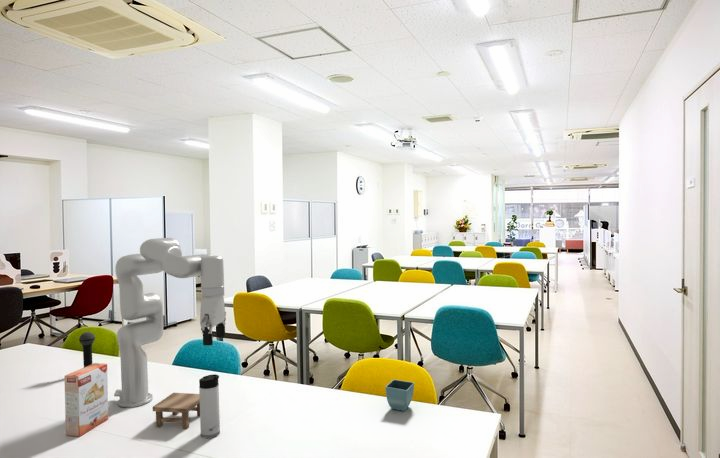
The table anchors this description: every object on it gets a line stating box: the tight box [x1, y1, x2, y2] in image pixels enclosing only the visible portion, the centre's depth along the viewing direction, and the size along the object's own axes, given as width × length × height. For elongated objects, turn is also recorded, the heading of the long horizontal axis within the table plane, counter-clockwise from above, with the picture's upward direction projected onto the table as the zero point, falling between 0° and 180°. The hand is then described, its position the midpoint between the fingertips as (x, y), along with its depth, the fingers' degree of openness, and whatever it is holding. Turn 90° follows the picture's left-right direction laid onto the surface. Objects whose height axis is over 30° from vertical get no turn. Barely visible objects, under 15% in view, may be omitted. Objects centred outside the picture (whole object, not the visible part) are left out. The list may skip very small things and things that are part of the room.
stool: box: [152, 392, 200, 430], centre depth 167 cm, size 13×13×8 cm
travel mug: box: [198, 373, 221, 439], centre depth 156 cm, size 6×7×20 cm
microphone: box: [78, 331, 96, 368], centre depth 219 cm, size 7×7×20 cm
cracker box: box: [64, 362, 109, 437], centre depth 163 cm, size 14×6×21 cm, turn 170°
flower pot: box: [385, 379, 415, 412], centre depth 175 cm, size 9×9×9 cm
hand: (214, 341), depth 159 cm, fingers open, 9 cm apart
